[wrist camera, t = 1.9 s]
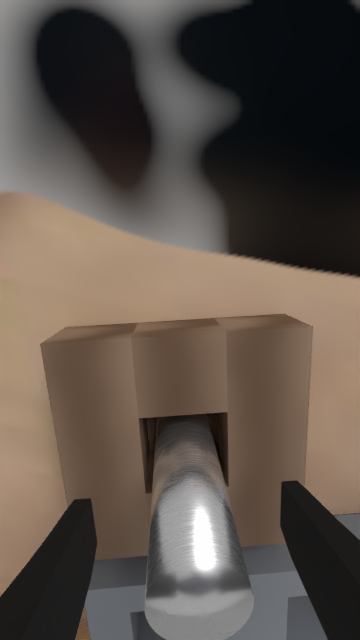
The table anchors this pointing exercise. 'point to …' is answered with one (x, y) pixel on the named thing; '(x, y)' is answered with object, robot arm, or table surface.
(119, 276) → the table surface
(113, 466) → the socket block
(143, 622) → the tool rack
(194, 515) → the steel peg
